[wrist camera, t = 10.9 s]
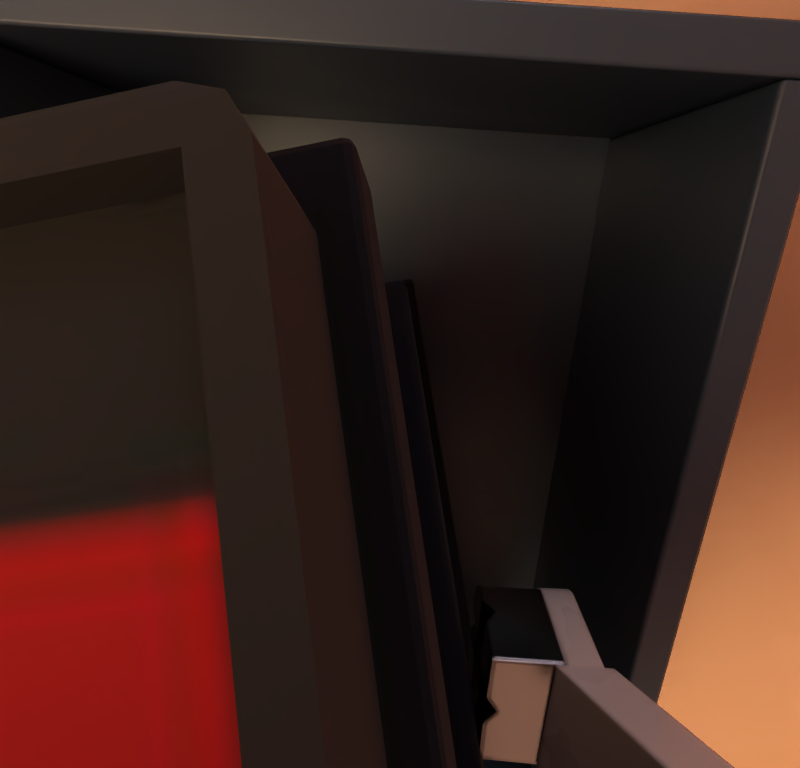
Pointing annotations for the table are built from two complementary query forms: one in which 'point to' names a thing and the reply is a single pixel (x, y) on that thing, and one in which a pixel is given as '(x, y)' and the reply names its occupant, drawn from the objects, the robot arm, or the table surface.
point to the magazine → (215, 456)
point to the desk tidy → (522, 243)
